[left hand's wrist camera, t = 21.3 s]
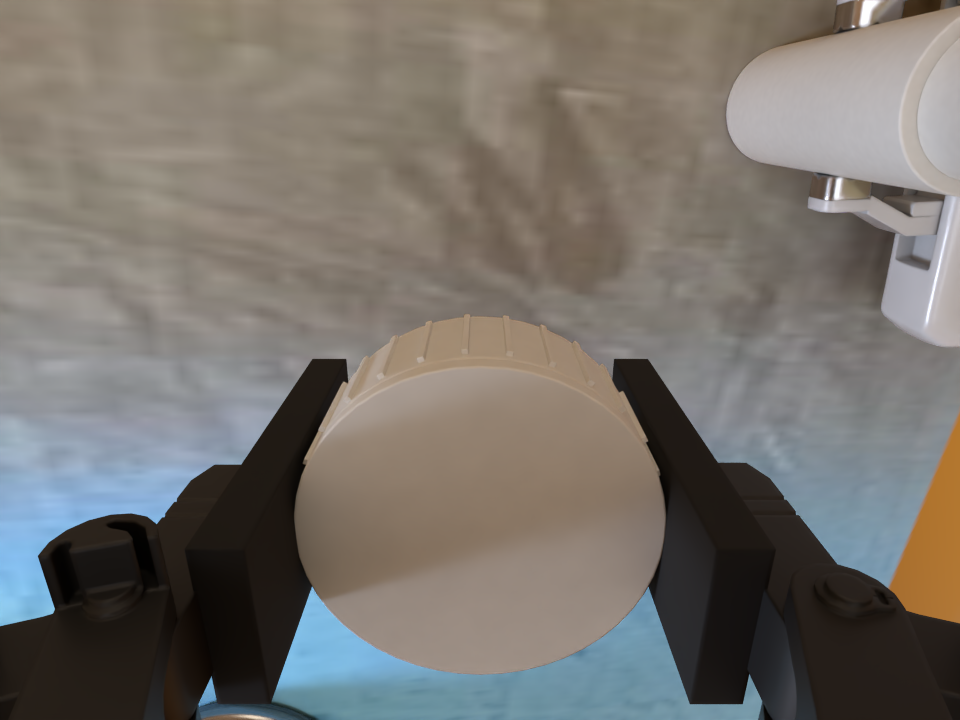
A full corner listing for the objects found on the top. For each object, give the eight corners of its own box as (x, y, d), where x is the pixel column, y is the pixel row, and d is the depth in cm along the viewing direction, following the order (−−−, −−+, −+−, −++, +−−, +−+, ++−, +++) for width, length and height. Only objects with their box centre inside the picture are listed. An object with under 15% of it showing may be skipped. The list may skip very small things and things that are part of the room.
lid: (302, 550, 13) (265, 640, 11) (356, 274, 11) (323, 315, 9) (579, 609, 14) (598, 706, 12) (684, 358, 12) (733, 418, 9)
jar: (848, 44, 30) (1214, -25, 15) (825, 163, 32) (1128, 207, 17) (734, 45, 30) (986, -24, 15) (718, 163, 32) (927, 208, 17)
